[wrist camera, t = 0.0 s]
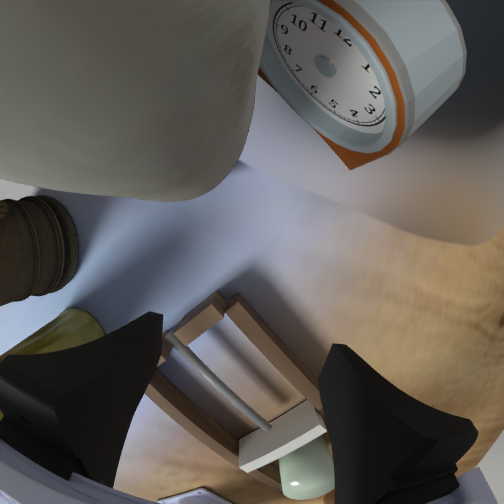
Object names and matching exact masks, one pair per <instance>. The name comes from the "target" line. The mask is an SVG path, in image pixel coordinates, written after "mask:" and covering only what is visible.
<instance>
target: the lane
mask: <svg viewBox="0 0 504 504" xmlns="http://www.w3.org/2000/svg"><path fill="white" fill-rule="evenodd" d="M225 313H226V314H227V315H228V316H229V318H230V319H231V320H232V321H233V322H234V323H235V324H236V325H237V327H238V328H239V329H240V330H241V331H242V332H243V333H244V334H245V335H246V336H247V338H248V339H249V340H250V341H251V342H252V343H253V344H254V345H255V346H256V347H257V348H258V349H259V350H260V352H261V353H262V354H263V355H264V356H265V357H266V358H267V359H268V360H269V361H270V362H271V363H272V364H273V365H274V366H275V367H276V368H277V369H278V370H279V371H280V373H281V374H282V375H283V376H284V377H285V378H286V379H287V380H288V381H289V382H290V383H291V384H292V385H293V386H294V387H295V388H296V389H297V390H298V391H299V392H300V393H301V394H302V395H303V396H304V397H305V398H306V399H307V400H308V401H309V402H310V403H311V404H312V405H313V406H314V407H316V408H317V409H318V410H319V411H320V412H321V413H322V414H323V415H324V411H323V407H322V403H321V399H320V392H319V382H318V381H317V380H316V379H315V378H314V377H313V375H312V374H311V373H310V372H309V371H308V370H307V369H306V368H305V367H304V366H303V365H302V363H301V362H300V361H299V360H298V359H297V358H296V357H295V356H294V355H293V353H292V352H291V351H290V350H289V349H288V348H287V347H286V346H285V345H284V343H283V342H282V341H281V340H280V339H279V338H278V337H277V336H276V334H275V333H274V332H273V331H272V330H271V329H270V328H269V327H268V325H267V324H266V323H265V322H264V321H263V320H262V319H261V317H260V316H259V315H258V314H257V313H256V312H255V310H254V309H253V308H252V307H251V306H250V305H249V304H248V302H247V301H246V300H245V299H244V298H243V297H242V295H241V294H240V293H238V294H237V295H235V296H234V297H233V298H231V299H230V300H229V301H228V302H227V301H226V300H225V299H224V298H223V297H222V295H221V294H220V293H219V292H218V291H215V292H214V293H213V294H212V295H210V296H209V297H208V298H207V299H205V300H204V301H203V302H202V303H200V304H199V305H198V306H197V307H195V308H194V309H193V310H192V311H190V312H189V313H188V314H187V315H185V316H184V317H183V319H182V321H181V322H180V324H179V326H178V327H177V329H176V331H175V332H174V335H175V336H176V337H177V338H178V339H179V340H180V341H181V342H182V343H183V344H184V345H185V346H187V345H188V344H189V343H191V342H192V341H193V340H195V339H196V338H197V337H199V336H200V335H201V334H203V333H204V332H205V331H207V330H208V329H209V328H211V327H212V326H213V325H215V324H216V323H217V322H219V321H220V320H221V319H223V318H224V314H225ZM168 333H169V331H168V330H166V331H165V332H164V333H162V354H161V357H160V359H159V362H158V365H157V367H158V366H159V365H161V364H162V363H163V362H165V361H166V360H167V358H168V356H169V354H170V352H171V350H172V349H173V347H174V346H173V345H172V344H171V343H170V342H169V341H168V340H167V339H166V338H165V336H166V335H167V334H168ZM145 394H146V395H147V396H148V397H149V398H150V399H151V400H152V401H153V402H154V403H155V404H156V405H158V406H159V407H160V408H161V409H162V410H163V411H164V412H165V413H166V414H168V415H169V416H170V417H171V418H172V419H173V420H175V421H176V422H177V423H178V424H179V425H181V426H182V427H183V428H184V429H185V430H187V431H188V432H189V433H190V434H192V435H193V436H194V437H195V438H197V439H198V440H199V441H201V442H202V443H203V444H205V445H206V446H207V447H209V448H210V449H211V450H213V451H214V452H216V453H217V454H218V455H220V456H221V457H223V458H224V459H226V460H227V461H228V462H230V463H231V464H233V465H234V466H236V467H238V468H239V440H237V439H236V438H235V437H233V436H232V435H231V434H230V433H228V432H227V431H226V430H225V429H223V428H222V427H221V426H220V425H218V424H217V423H216V422H215V421H213V420H212V419H211V418H210V417H209V416H208V415H206V414H205V413H204V412H203V411H202V410H201V409H199V408H198V407H197V406H196V405H195V404H194V403H193V402H192V401H190V400H189V399H188V398H187V397H186V396H185V395H184V394H183V393H182V392H181V391H180V390H178V389H177V388H176V387H175V386H174V385H173V384H172V383H171V382H170V381H169V380H168V379H167V378H166V377H165V376H164V375H163V374H162V373H161V372H160V371H159V370H158V369H157V368H156V371H155V373H154V375H153V377H152V379H151V381H150V383H149V385H148V387H147V389H146V391H145ZM324 416H325V415H324ZM239 469H240V468H239ZM241 470H242V469H241ZM242 471H244V470H242ZM244 472H245V471H244ZM245 473H247V472H245ZM247 474H249V475H250V476H252V477H253V478H255V479H257V480H258V481H260V482H262V483H264V484H265V485H267V486H269V487H271V488H272V489H274V490H276V491H278V492H280V493H282V494H283V490H282V483H281V476H280V469H279V468H277V467H276V466H274V465H273V464H271V463H268V464H266V465H264V466H262V467H260V468H257V469H255V470H253V471H251V472H248V473H247Z"/></svg>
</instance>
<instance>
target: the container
mask: <svg viewBox="0 0 504 504" xmlns="http://www.w3.org/2000/svg"><path fill="white" fill-rule="evenodd" d="M77 262H78V238H77V233H76V229H75V226H74V223H73V221H72V218H71V216H70V215H69V213H68V211H67V210H66V209H65V207H64V206H63V205H62V204H61V203H60V202H58V201H57V200H55V199H53V198H51V197H49V196H44V195H39V196H27V197H24V198H21V199H20V200H18V201H16V200H12V199H4V200H1V201H0V306H2V305H5V304H8V303H10V302H17V301H22V300H25V299H26V298H28V297H29V296H31V295H32V296H43V295H46V294H48V293H53V292H56V291H58V290H60V289H62V288H63V287H64V286H65V285H66V284H67V283H68V282H69V281H70V280H71V278H72V277H73V275H74V273H75V270H76V267H77Z"/></svg>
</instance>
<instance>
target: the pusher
mask: <svg viewBox="0 0 504 504" xmlns="http://www.w3.org/2000/svg"><path fill="white" fill-rule="evenodd" d="M165 338H166V339H167V340H168V341H169V342H170V343H171V344H172V345H173V346H174V347H175V349H176V350H177V351H178V352H179V353H180V354H181V355H182V356H183V357H184V358H185V359H186V360H187V361H188V362H189V363H190V364H191V365H192V366H193V367H194V368H195V369H196V370H197V371H198V372H199V373H200V374H201V375H202V376H203V377H204V378H205V379H206V380H207V381H208V382H209V383H210V384H211V385H212V386H213V387H215V388H216V389H217V390H218V391H219V392H220V393H221V394H222V395H223V396H224V397H225V398H226V399H228V400H229V401H230V402H231V403H232V404H233V405H234V406H235V407H237V408H238V409H239V410H240V411H241V412H242V413H243V414H245V415H246V416H247V417H248V418H249V419H251V420H252V421H253V422H254V423H255V424H257V425H258V426H259V427H260V428H259V429H258V430H256V431H254V432H252V433H250V434H248V435H247V436H245V437H243V438H241V439H239V468H240V469H242V470H244V471H245V472H247V473H248V472H251V471H253V470H255V469H257V468H260V467H262V466H264V465H266V464H268V463H270V462H272V461H274V460H276V459H278V458H280V457H282V456H284V455H286V454H288V453H290V452H292V451H294V450H296V449H297V448H299V447H301V446H303V445H305V444H306V443H308V442H310V441H312V440H313V439H315V438H317V437H318V436H320V435H322V434H323V433H325V432H327V429H326V426H325V424H324V421H323V418H322V416H321V413H320V411H319V410H318V409H317V408H316V407H314V406H313V405H312V404H311V403H310V402H309V401H308V400H306V401H304V402H303V403H301V404H300V405H298V406H296V407H295V408H293V409H292V410H290V411H288V412H287V413H285V414H284V415H282V416H280V417H279V418H277V419H275V420H273V421H272V422H270V423H268V422H267V421H266V420H265V419H263V418H262V417H261V416H260V415H259V414H258V413H256V412H255V411H254V410H253V409H252V408H251V407H250V406H248V405H247V404H246V403H245V402H244V401H243V400H242V399H241V398H240V397H238V396H237V395H236V394H235V393H234V392H233V391H232V390H231V389H230V388H229V387H228V386H227V385H226V384H225V383H224V382H222V381H221V380H220V379H219V378H218V377H217V376H216V375H215V374H214V373H213V372H212V371H211V370H210V369H209V368H208V367H207V366H206V365H205V364H204V363H203V362H202V361H201V360H200V359H199V358H198V357H197V356H196V355H195V354H194V353H193V352H192V350H191V349H190V348H189V347H188V346H185V345H184V344H183V343H182V342H181V341H180V340H179V339H178V338H177V337H176V336H175V335H174V331H173V330H172V331H170V332H169V333H168V334H167V335H166V336H165Z"/></svg>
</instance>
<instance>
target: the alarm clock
mask: <svg viewBox="0 0 504 504" xmlns="http://www.w3.org/2000/svg"><path fill="white" fill-rule="evenodd" d="M466 55H467V51H466V47H465V43H464V38H463V34H462V30H461V27H460V25H459V23H458V21H457V19H456V18H455V16H454V14H453V12H452V10H451V9H450V7H449V5H448V4H447V2H446V1H445V0H270V4H269V17H268V23H267V29H266V35H265V38H264V43H263V47H262V55H261V58H260V65H259V69H258V75H259V76H260V77H261V78H262V79H263V80H265V81H266V82H267V83H268V84H269V85H270V86H271V87H272V88H273V89H274V90H275V91H276V92H278V93H279V94H280V96H281V97H282V98H283V99H284V100H285V101H286V102H287V103H288V104H289V105H290V107H291V108H292V109H293V110H294V111H295V112H296V113H298V114H299V116H301V117H302V118H303V119H304V120H305V121H306V122H307V123H308V124H309V125H311V126H312V127H313V129H314V130H315V131H316V132H317V133H318V134H319V135H320V136H321V137H322V138H323V139H324V140H325V142H326V143H327V144H328V145H329V146H330V147H331V148H332V150H333V151H334V152H335V153H336V154H337V155H338V156H339V157H340V159H341V160H342V161H343V162H344V163H345V165H346V166H347V167H348V168H349V169H350V170H352V169H355V168H357V167H359V166H362V165H364V164H366V163H368V162H371V161H373V160H376V159H378V158H381V157H383V156H385V155H388V154H390V153H391V152H392V151H394V150H395V149H396V148H397V147H399V146H400V145H401V144H402V143H403V142H404V141H405V140H406V139H407V138H408V137H409V136H410V135H411V134H412V133H413V132H414V131H415V130H417V129H418V127H419V126H421V125H422V124H423V123H424V122H425V121H426V120H427V119H428V118H429V117H430V116H431V115H432V114H433V113H434V112H435V111H436V110H437V109H438V108H439V107H440V106H441V105H442V104H443V103H444V101H446V100H447V99H448V98H449V96H451V94H453V92H455V91H456V89H458V87H459V85H460V83H461V81H462V79H463V76H464V74H465V70H466V69H465V68H466Z"/></svg>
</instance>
